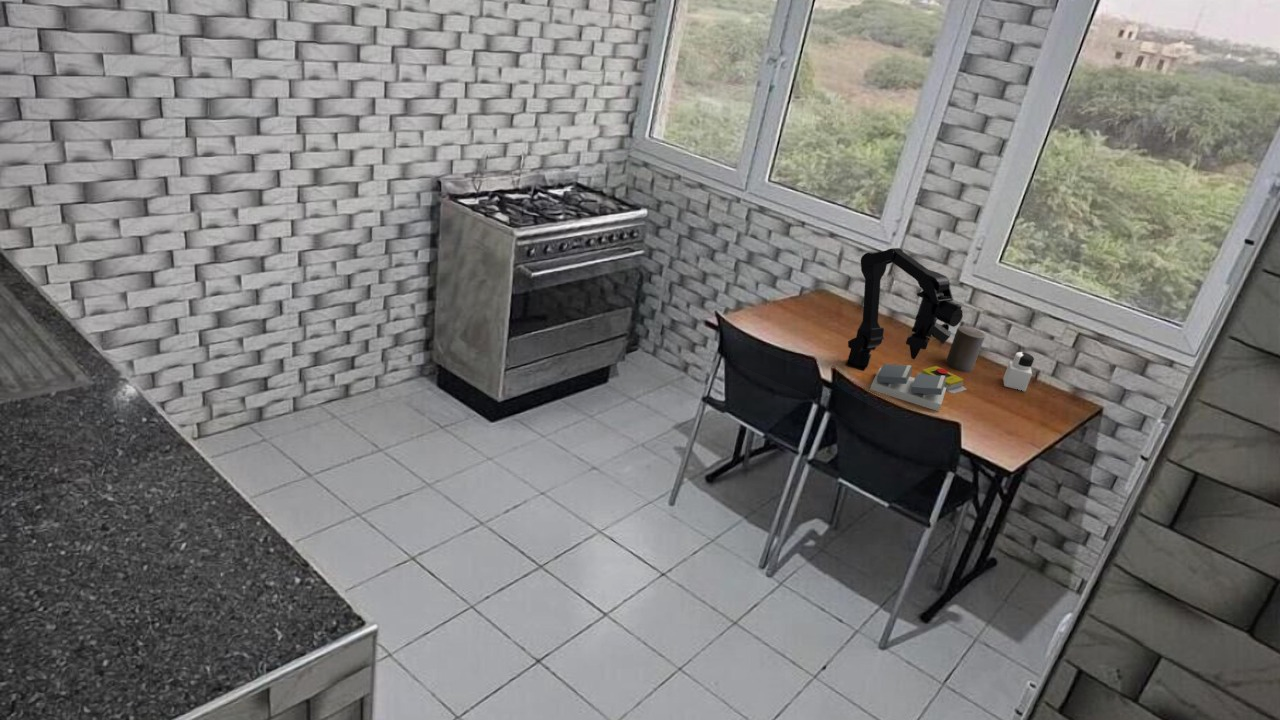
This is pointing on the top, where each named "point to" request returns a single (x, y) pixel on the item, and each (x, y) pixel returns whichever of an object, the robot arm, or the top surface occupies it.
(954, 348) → the pillar candle
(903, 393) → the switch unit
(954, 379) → the emergency button
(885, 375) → the block
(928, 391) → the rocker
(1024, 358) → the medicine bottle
